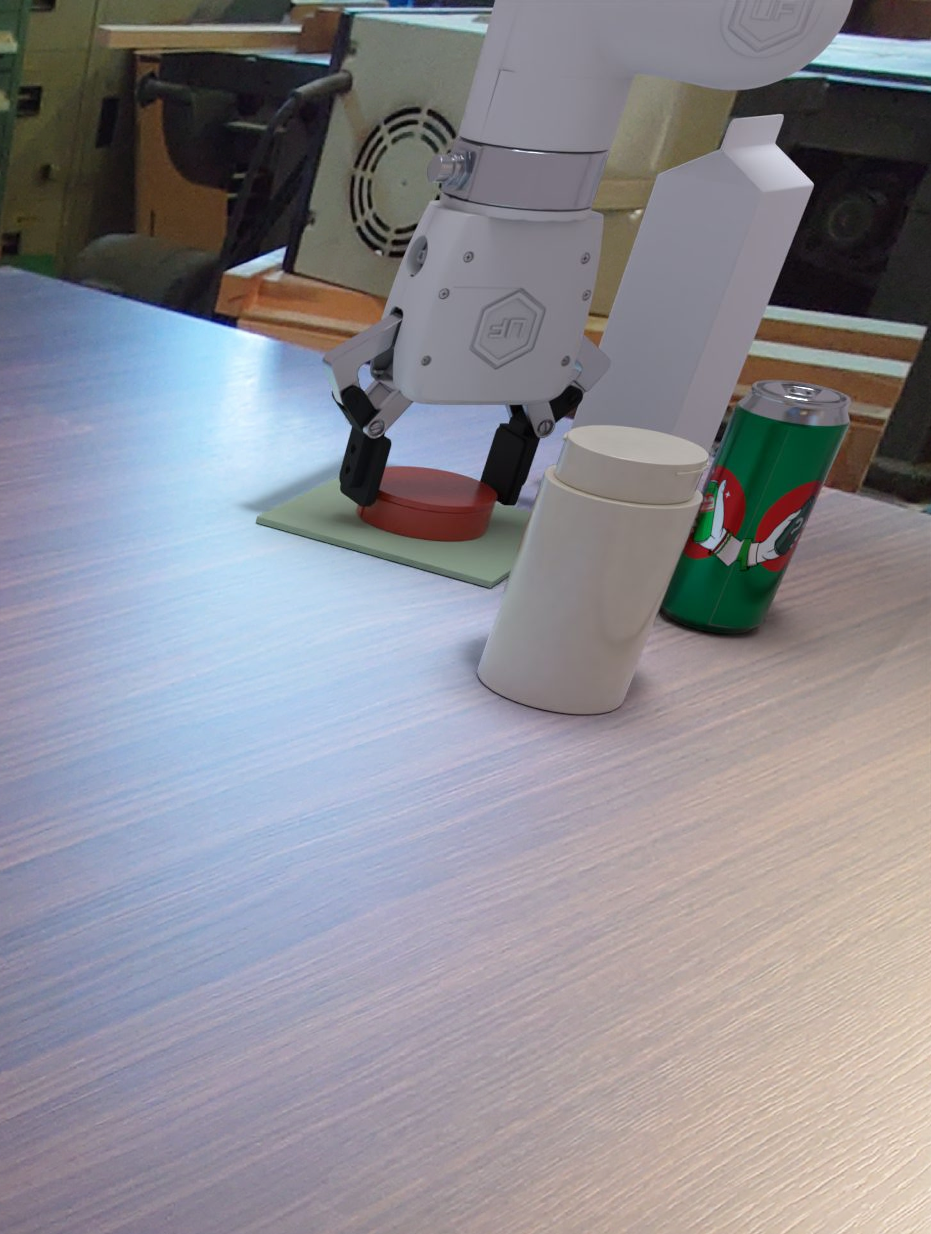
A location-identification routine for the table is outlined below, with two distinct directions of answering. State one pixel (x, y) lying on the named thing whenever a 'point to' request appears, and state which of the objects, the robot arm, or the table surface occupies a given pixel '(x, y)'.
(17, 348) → the table surface
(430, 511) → the lid
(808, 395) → the soda can
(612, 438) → the jar
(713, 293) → the milk
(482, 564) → the mat
